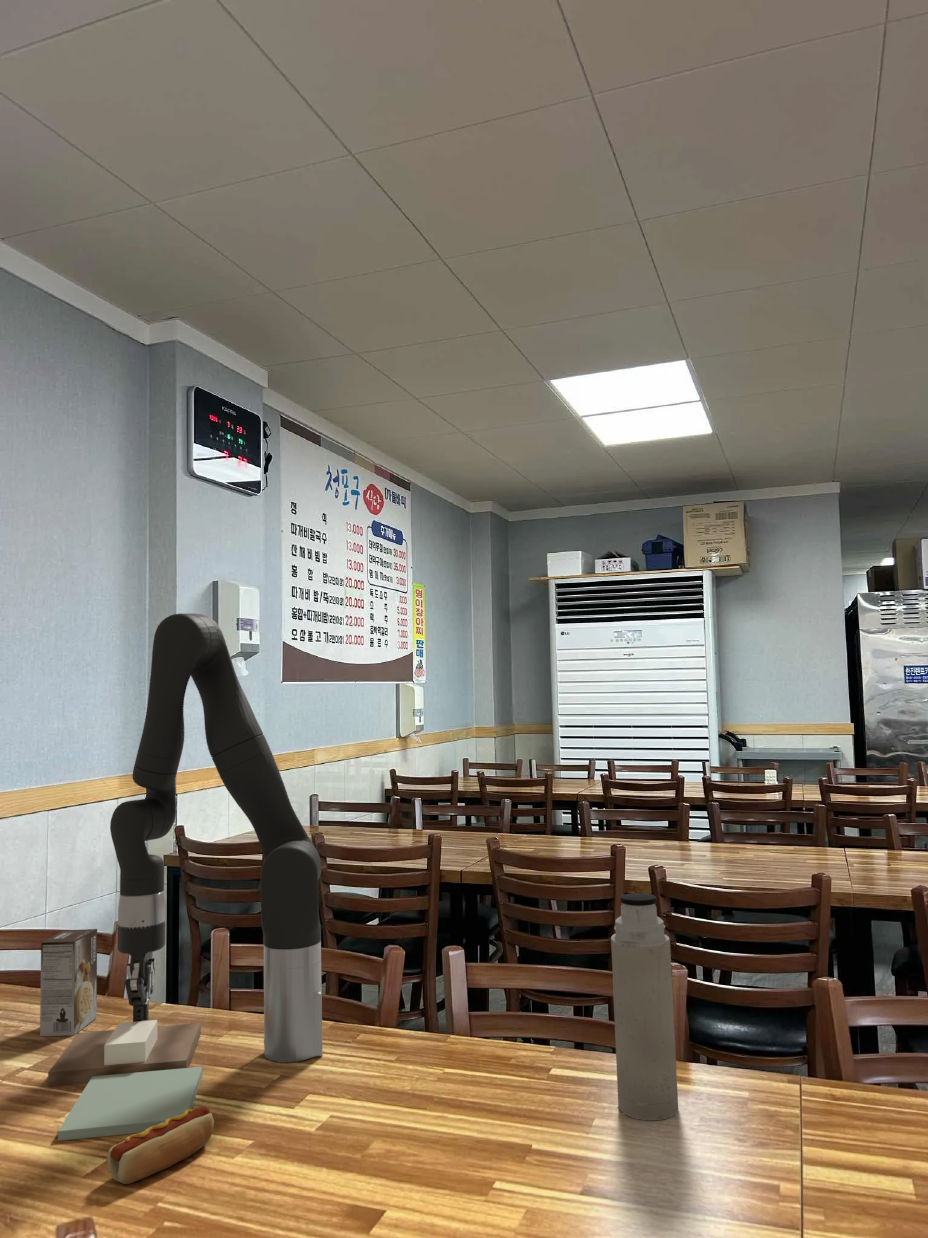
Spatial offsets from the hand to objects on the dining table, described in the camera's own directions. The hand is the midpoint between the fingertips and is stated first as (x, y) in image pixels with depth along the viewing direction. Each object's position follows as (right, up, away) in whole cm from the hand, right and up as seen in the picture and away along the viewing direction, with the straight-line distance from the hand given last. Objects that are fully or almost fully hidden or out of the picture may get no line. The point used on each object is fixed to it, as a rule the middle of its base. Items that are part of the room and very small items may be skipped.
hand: (140, 1027), depth 148 cm
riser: (0, -3, -4) cm, 5 cm away
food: (+17, 0, -39) cm, 42 cm away
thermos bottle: (+79, +1, -27) cm, 83 cm away
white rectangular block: (+1, -1, -7) cm, 7 cm away
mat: (+7, -1, -22) cm, 23 cm away
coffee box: (-17, -5, +11) cm, 21 cm away
